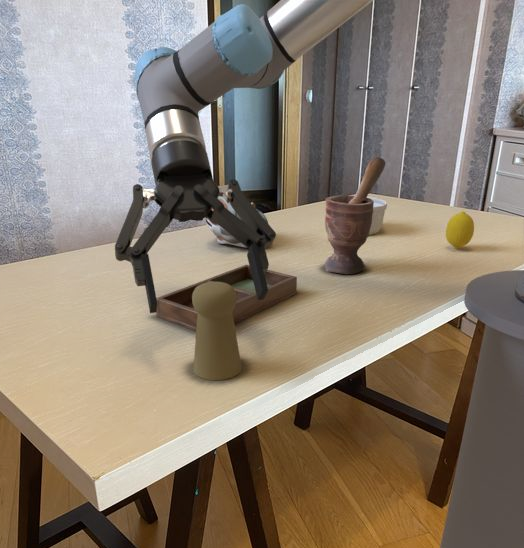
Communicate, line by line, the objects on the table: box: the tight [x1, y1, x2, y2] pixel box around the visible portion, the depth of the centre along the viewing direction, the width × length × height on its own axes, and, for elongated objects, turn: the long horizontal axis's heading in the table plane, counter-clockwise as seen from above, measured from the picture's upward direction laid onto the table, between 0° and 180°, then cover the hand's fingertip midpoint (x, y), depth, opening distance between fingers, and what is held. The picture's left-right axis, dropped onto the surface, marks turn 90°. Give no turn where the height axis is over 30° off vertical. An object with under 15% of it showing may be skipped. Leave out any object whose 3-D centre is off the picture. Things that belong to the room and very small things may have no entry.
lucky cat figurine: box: [205, 196, 269, 249], centre depth 114 cm, size 15×12×14 cm
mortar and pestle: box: [324, 156, 386, 275], centre depth 98 cm, size 12×9×20 cm
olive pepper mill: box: [192, 282, 243, 381], centre depth 64 cm, size 6×6×11 cm
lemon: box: [445, 210, 475, 250], centre depth 112 cm, size 6×6×8 cm
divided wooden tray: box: [155, 264, 298, 332], centre depth 85 cm, size 11×21×3 cm, turn 142°
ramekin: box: [366, 196, 388, 236], centre depth 127 cm, size 13×13×7 cm
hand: (210, 302), depth 64 cm, fingers open, 13 cm apart
